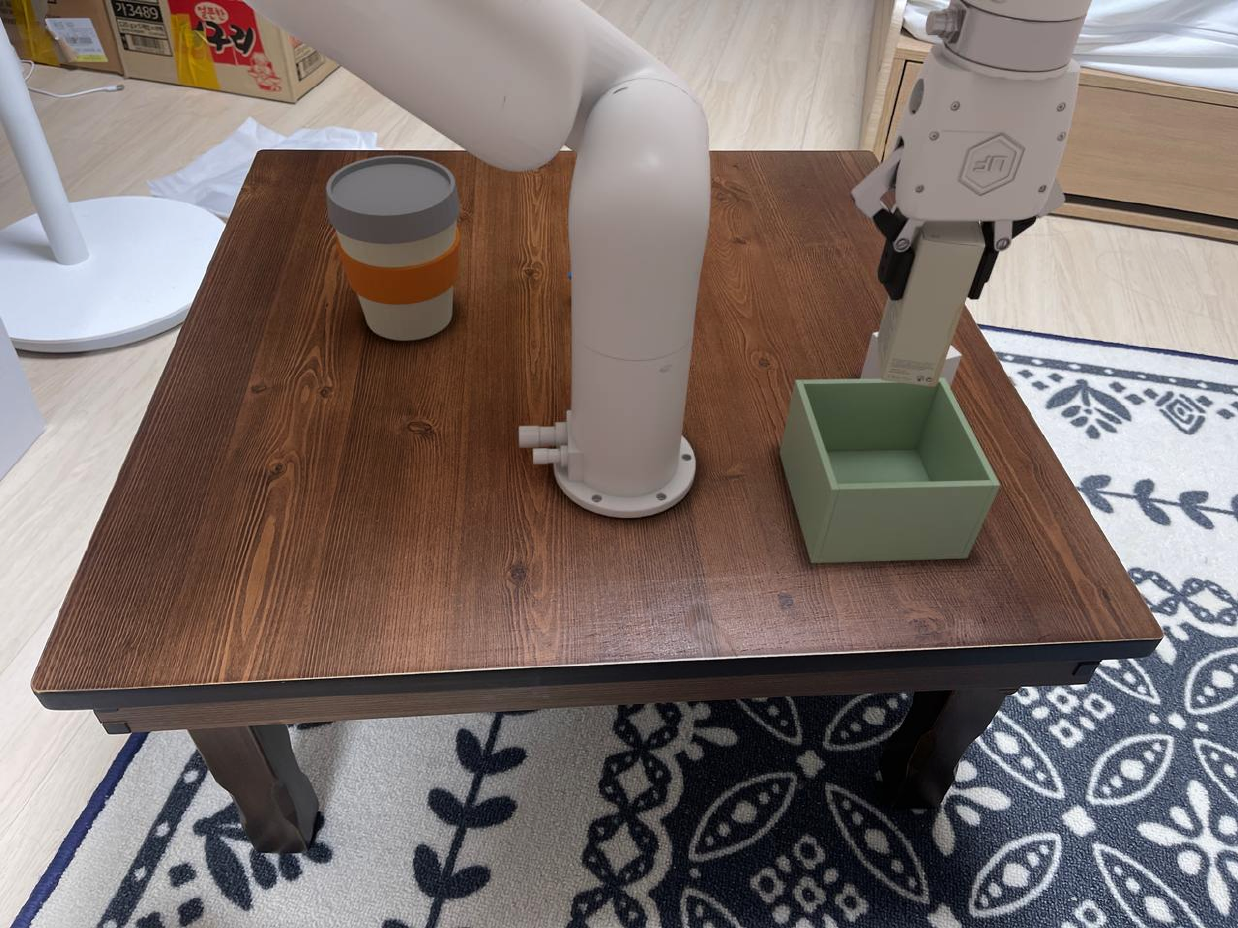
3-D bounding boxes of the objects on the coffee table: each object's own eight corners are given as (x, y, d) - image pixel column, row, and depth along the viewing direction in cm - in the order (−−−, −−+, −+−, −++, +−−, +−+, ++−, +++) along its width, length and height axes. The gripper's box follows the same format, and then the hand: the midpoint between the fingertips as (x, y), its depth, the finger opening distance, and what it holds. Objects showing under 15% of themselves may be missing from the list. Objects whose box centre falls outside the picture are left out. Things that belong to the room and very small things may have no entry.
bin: (810, 563, 76) (831, 489, 70) (779, 453, 86) (795, 379, 80) (967, 558, 77) (1000, 485, 71) (918, 450, 87) (944, 377, 81)
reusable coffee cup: (324, 314, 98) (296, 182, 88) (419, 270, 105) (403, 142, 95) (398, 367, 92) (377, 232, 82) (493, 316, 99) (485, 185, 89)
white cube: (907, 368, 96) (923, 320, 91) (944, 404, 92) (962, 354, 88) (858, 382, 94) (872, 333, 90) (894, 418, 90) (910, 368, 86)
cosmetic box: (936, 390, 71) (989, 249, 63) (877, 381, 71) (922, 241, 63) (928, 341, 75) (977, 204, 67) (873, 334, 76) (915, 196, 67)
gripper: (891, 55, 53) (827, 321, 65) (1176, 58, 54) (1060, 318, 67) (856, 9, 58) (803, 263, 71) (1115, 14, 60) (1019, 261, 72)
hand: (929, 287), depth 69 cm, fingers closed on cosmetic box, 5 cm apart
